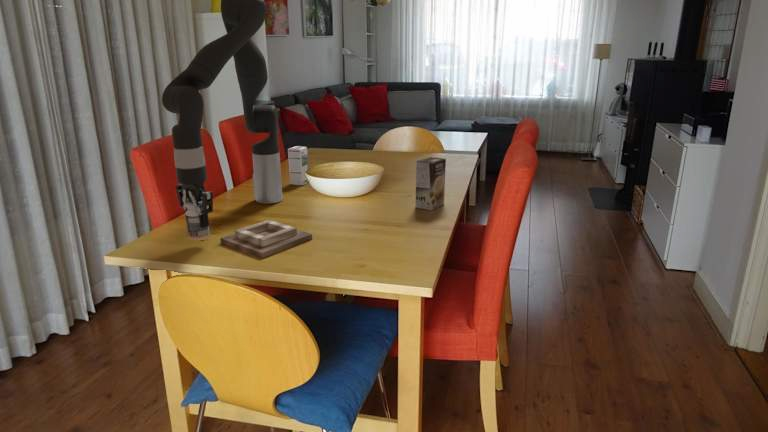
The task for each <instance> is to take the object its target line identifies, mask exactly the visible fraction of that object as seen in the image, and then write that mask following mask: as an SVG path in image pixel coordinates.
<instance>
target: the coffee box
mask: <svg viewBox="0 0 768 432" xmlns="http://www.w3.org/2000/svg"><path fill="white" fill-rule="evenodd" d="M446 162H447V159H446V158H442V157H432V156H429V157H426V158H423V159H419V160H416V162H415V163H416V171H415V208H416V209H422V210H427V211H433V210H435V209H437V208H439V207H442V206H443V205H445V194H446V193H445V190H446V189H445V188H446V187H445V186H446V167H447V166H446V164H447V163H446Z"/></svg>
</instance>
